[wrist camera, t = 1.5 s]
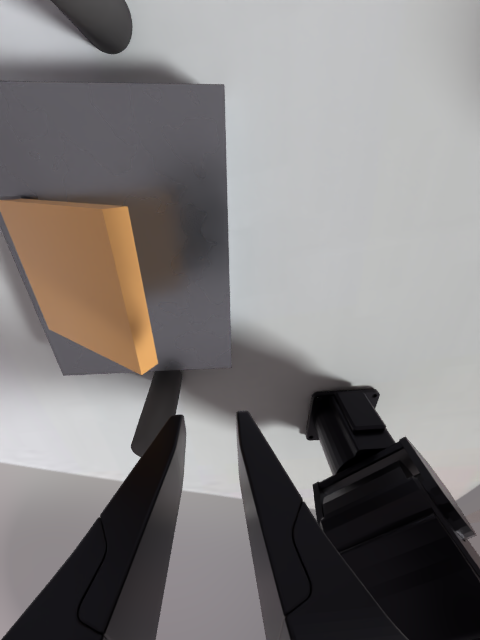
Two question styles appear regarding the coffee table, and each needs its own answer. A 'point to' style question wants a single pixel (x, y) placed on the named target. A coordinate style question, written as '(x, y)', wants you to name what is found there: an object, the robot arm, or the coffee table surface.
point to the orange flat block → (84, 275)
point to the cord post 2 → (157, 408)
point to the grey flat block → (134, 199)
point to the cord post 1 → (100, 22)
